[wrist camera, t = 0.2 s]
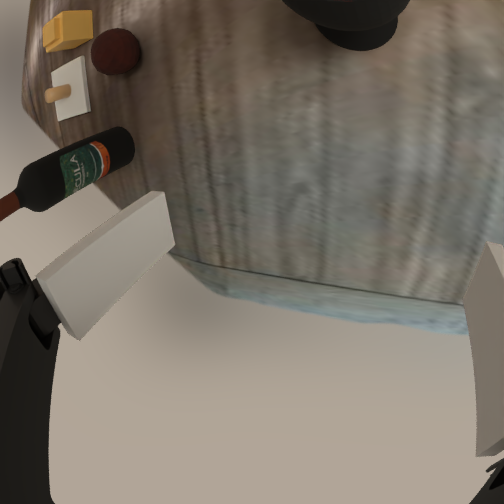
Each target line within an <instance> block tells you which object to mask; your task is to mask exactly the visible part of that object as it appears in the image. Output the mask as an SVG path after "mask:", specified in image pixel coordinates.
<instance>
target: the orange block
mask: <svg viewBox="0 0 504 504" xmlns="http://www.w3.org/2000/svg"><path fill="white" fill-rule="evenodd" d="M92 38H93V23H92V10H77V11H62V12H61V13H59V14H58V15H57V16H56V17H54V18H53V19H52V20H50V21H49V22H48V23H47V24H46V25H45V26H44V27H43V47H46V53H48V52H54V51H60V50H66V49H73V48H76V47H78V46H79V45H81V44H83V43H85V42H87V41H89V40H90V39H92Z"/></svg>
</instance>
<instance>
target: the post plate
mask: <svg viewBox="0 0 504 504" xmlns="http://www.w3.org/2000/svg"><path fill="white" fill-rule="evenodd" d="M51 75H52V84H53V88H50V89H47V90H46V92H45V100H46V102H47V103H51V102H54V101H55V106H56V112H57V118H58V121H61V120H64V119H67V118H70V117H73V116H76V115H80V114H83V113H86V112H90V111H91V107H90V100H89V93H88V85H87V77H86V67H85V57H84V56H80V57H78V58H76V59H74V60H72V61H71V62H69V63H67V64H65V65H63V66H62V67H60V68H58V69H56V70H55V71H53V72H51Z"/></svg>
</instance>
